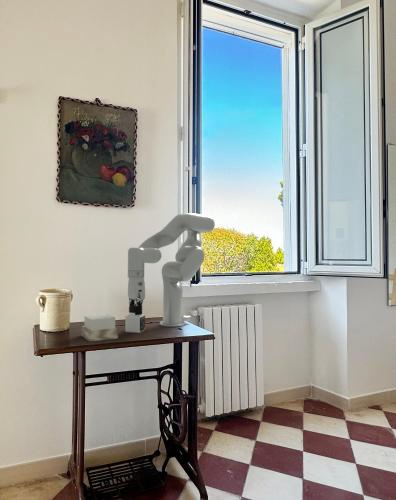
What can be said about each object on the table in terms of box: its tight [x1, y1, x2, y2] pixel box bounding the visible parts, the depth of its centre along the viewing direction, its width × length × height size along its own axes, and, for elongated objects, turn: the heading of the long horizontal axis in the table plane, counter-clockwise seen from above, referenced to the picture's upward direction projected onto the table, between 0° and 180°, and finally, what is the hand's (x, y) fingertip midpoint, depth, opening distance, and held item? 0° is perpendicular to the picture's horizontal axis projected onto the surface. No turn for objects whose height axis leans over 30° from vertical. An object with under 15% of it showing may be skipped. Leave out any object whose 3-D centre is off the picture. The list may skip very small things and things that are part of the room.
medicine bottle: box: [124, 303, 146, 334], centre depth 177 cm, size 7×7×12 cm
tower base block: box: [81, 325, 119, 342], centre depth 164 cm, size 12×12×4 cm
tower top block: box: [83, 313, 116, 331], centre depth 164 cm, size 10×10×4 cm
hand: (135, 313), depth 177 cm, fingers closed on medicine bottle, 6 cm apart
